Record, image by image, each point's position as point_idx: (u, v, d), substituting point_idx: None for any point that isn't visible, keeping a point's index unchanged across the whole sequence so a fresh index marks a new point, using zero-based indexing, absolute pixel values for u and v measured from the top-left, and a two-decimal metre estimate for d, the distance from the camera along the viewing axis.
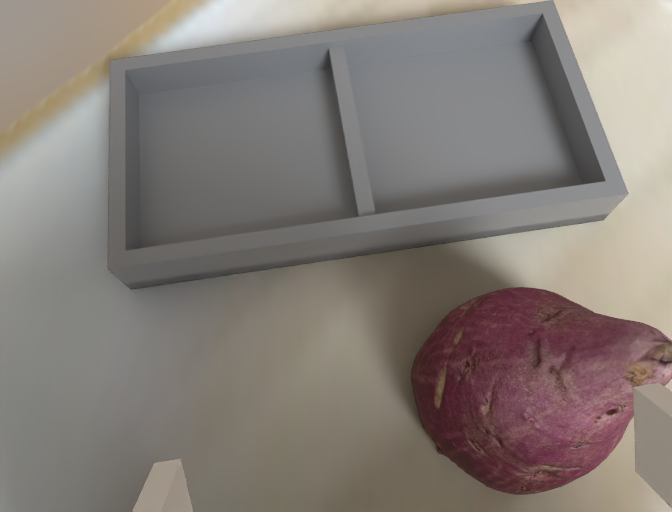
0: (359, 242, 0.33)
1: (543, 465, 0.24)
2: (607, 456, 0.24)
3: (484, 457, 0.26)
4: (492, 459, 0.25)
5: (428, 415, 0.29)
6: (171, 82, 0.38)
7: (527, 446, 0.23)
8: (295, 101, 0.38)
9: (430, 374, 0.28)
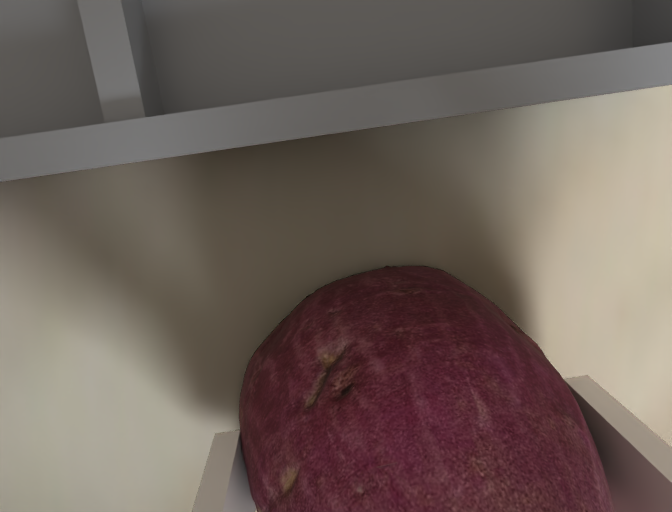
0: None
1: None
2: None
3: None
4: None
5: None
6: None
7: None
8: None
9: (248, 476, 0.15)
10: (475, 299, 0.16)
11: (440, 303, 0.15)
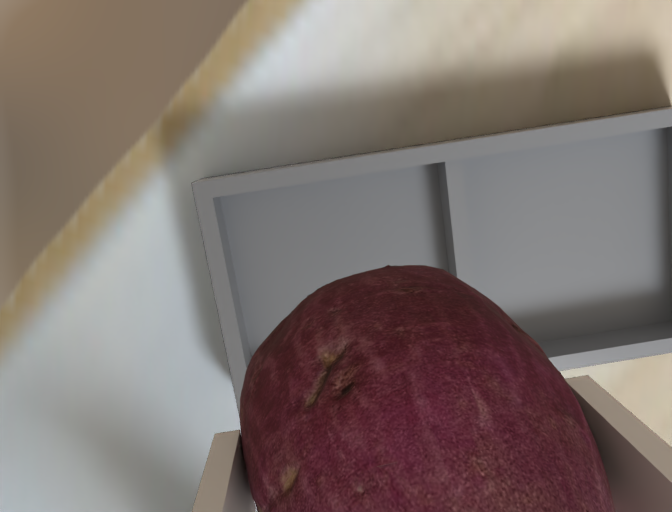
0: None
1: None
2: None
3: None
4: None
5: None
6: None
7: None
8: (397, 205, 0.35)
9: (248, 475, 0.15)
10: (476, 298, 0.16)
11: (441, 302, 0.15)
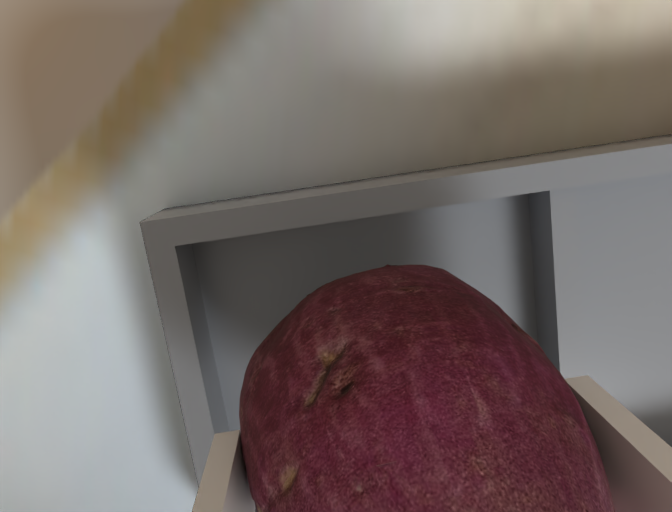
0: None
1: None
2: None
3: None
4: None
5: None
6: None
7: None
8: (465, 252, 0.23)
9: (248, 475, 0.15)
10: (476, 298, 0.16)
11: (440, 302, 0.15)
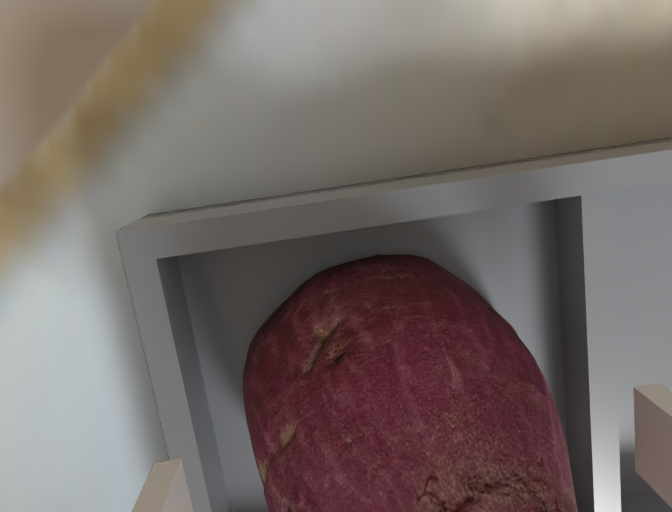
0: None
1: None
2: None
3: None
4: None
5: None
6: None
7: None
8: (483, 263, 0.20)
9: (251, 437, 0.17)
10: (455, 283, 0.17)
11: (423, 286, 0.17)
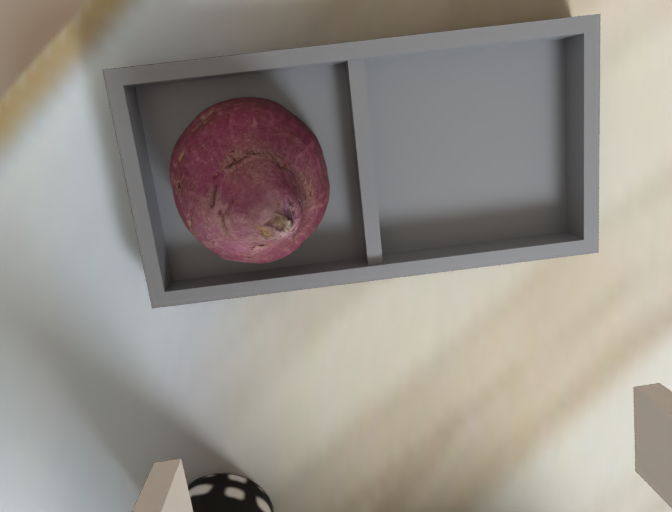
0: None
1: None
2: (289, 253, 0.32)
3: None
4: None
5: None
6: (172, 82, 0.35)
7: (216, 252, 0.30)
8: (307, 107, 0.36)
9: None
10: (279, 104, 0.34)
11: (258, 101, 0.33)
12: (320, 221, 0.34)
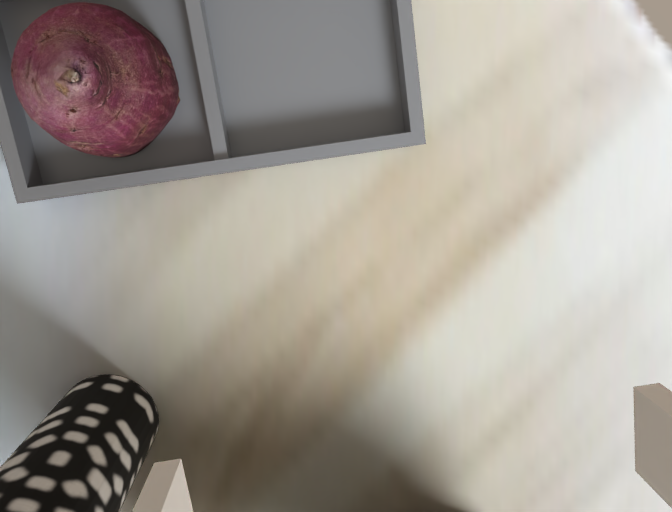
0: None
1: (73, 141, 0.36)
2: (122, 136, 0.36)
3: None
4: None
5: None
6: None
7: (48, 129, 0.34)
8: (154, 18, 0.40)
9: None
10: (117, 9, 0.38)
11: None
12: (158, 113, 0.38)
